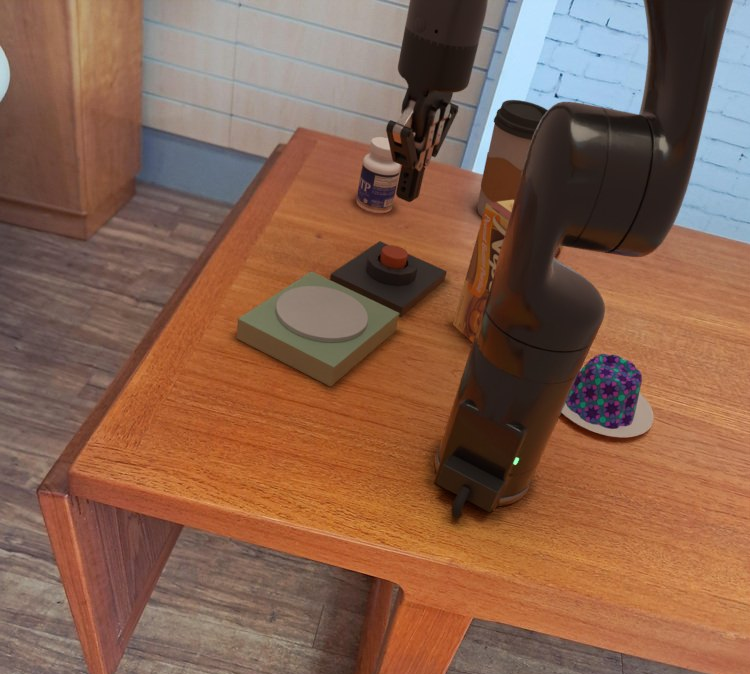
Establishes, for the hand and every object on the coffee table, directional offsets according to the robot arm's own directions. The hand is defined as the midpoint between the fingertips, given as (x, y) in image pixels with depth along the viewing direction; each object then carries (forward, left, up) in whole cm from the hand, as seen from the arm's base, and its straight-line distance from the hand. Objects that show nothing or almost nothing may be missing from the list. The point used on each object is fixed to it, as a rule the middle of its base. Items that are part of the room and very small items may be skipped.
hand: (406, 197), depth 90 cm
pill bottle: (+17, +12, -11) cm, 24 cm away
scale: (-16, 0, -11) cm, 19 cm away
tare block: (0, 0, -11) cm, 11 cm away
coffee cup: (+30, -2, -11) cm, 32 cm away
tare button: (0, 0, -8) cm, 8 cm away
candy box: (-3, -15, -11) cm, 19 cm away
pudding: (-5, -30, -11) cm, 32 cm away
